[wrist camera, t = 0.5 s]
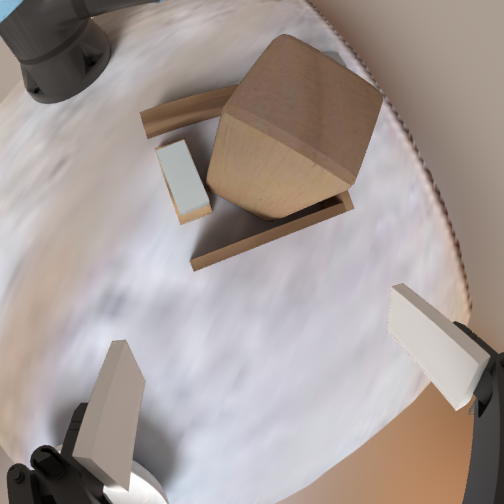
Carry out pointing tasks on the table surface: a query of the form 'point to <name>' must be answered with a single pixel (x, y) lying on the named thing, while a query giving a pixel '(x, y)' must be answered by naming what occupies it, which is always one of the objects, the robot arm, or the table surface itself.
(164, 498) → the serving bowl
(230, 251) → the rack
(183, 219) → the offcut slab lower
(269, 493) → the table surface
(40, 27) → the robot arm
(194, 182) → the offcut slab upper
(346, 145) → the wooden block
